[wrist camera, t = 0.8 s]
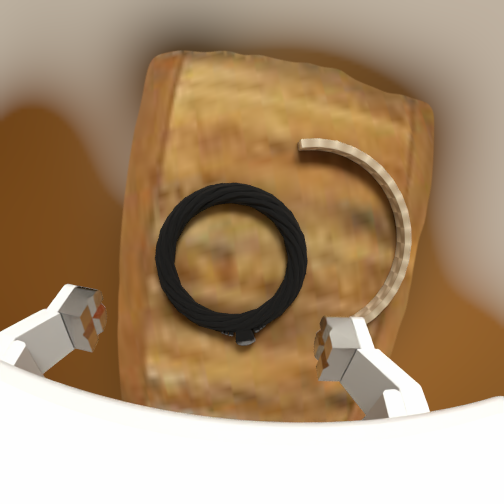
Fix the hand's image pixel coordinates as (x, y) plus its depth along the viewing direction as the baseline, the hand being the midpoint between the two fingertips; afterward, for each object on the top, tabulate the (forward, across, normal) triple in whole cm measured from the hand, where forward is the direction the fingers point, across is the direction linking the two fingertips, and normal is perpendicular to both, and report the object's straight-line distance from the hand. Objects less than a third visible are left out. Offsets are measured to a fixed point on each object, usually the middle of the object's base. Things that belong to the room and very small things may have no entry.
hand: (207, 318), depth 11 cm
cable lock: (+40, -1, -24) cm, 46 cm away
